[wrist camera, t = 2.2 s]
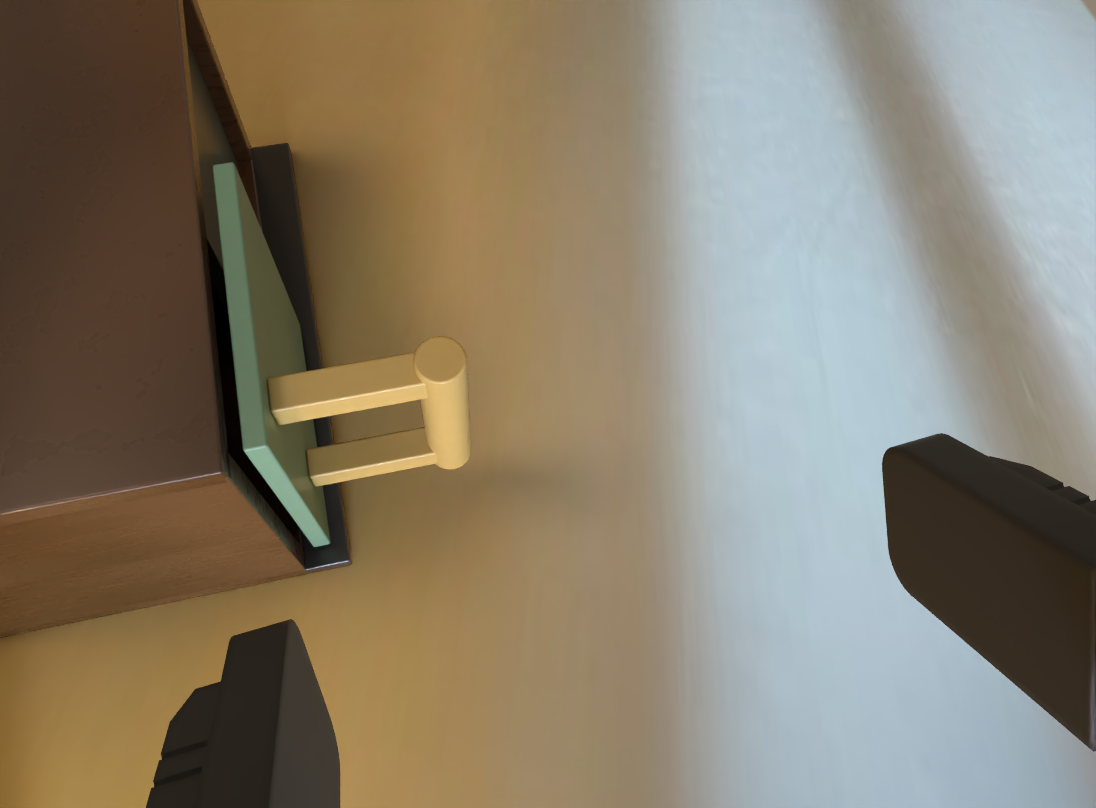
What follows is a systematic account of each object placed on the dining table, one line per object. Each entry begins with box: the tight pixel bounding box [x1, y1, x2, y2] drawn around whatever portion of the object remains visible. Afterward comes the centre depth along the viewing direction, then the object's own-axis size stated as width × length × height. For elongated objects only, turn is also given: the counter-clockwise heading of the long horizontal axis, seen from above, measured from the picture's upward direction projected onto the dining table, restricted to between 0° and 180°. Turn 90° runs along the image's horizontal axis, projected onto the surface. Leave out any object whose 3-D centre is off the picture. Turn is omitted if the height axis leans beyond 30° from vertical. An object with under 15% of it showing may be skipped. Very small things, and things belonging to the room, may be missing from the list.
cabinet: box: [0, 0, 352, 638], centre depth 29 cm, size 12×18×11 cm
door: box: [213, 162, 471, 547], centre depth 28 cm, size 6×9×10 cm
